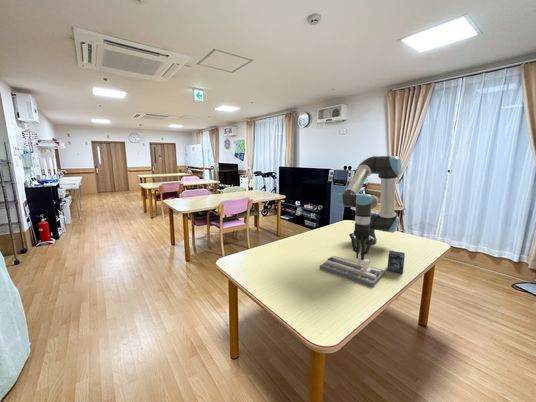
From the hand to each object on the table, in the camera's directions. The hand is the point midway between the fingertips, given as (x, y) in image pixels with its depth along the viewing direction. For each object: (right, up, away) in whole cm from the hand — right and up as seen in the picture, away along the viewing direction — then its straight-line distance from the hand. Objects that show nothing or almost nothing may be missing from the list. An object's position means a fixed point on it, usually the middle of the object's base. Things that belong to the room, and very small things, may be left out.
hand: (359, 264), depth 131 cm
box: (+22, -5, +4) cm, 23 cm away
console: (-3, -5, +4) cm, 7 cm away
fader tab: (+3, -4, -2) cm, 5 cm away
